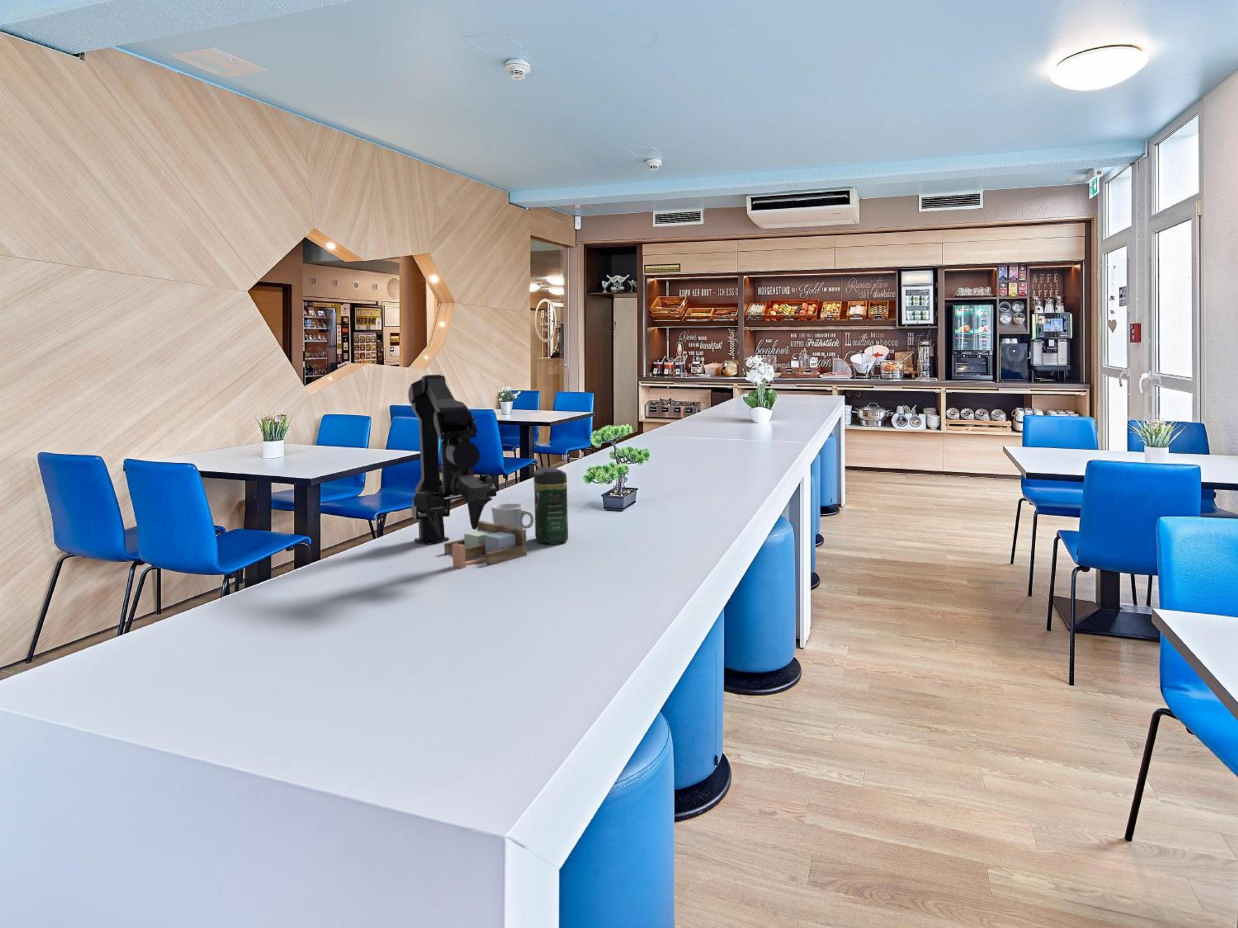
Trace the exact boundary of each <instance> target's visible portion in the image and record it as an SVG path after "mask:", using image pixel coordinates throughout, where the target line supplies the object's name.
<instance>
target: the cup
mask: <svg viewBox="0 0 1238 928" xmlns="http://www.w3.org/2000/svg"><path fill="white" fill-rule="evenodd" d="M491 512H492V513H491V514H492V521H493V522H492V523H494V524H499V525H504V526H509V527H514V528H519V529H524V530H527V529H530V528H532V526H533V525H534V523H535V515H534V513H533V512H532V511H530V510H527V509H524V506H523V504H520V503H511V502H509V503H499V504H495V505H492V507H491ZM526 515H528V516H529V518H530V522H529V524H525V522H524V517H525V516H526Z"/></svg>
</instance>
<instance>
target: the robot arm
mask: <svg viewBox="0 0 1238 928" xmlns="http://www.w3.org/2000/svg"><path fill="white" fill-rule="evenodd" d="M407 396H408V402H409V404H411V405H410V406H411V410H412V412H413V413H414V415H415V416H416V418H417V419H418V431H419V454H420V476H421V477H420V480H419V481H418V483H417V485H416V486H415V489H414V490H415V493H414V496H413V498H412V503H411V515H412V516H411V517H412V518H413V519H414V520H415V521H418V537H417V538H414V540H413V541H414V542H418V543H422V544H425V545H433V544H437V543H441V542H445V541H449V540H450V537H447V536H445V523H444V518H449V517H450V516H451V503H452V501H453V500H458V499H462V498H465V500H466V503H467V509H468V515H469V521H470V526H471V529H472V530H473V531H476V530H477V525H478V522H479V521H480V518H481V515H482V514H483V513H482V512H483V510H484V507H485V506H486V504H487V503H489V502H491V501H492V500H493V497H497V495H498V494H497V487H496V486H495V484H494V483H493V478H492V476H491V475H489V474H483V475H481V476H474V470H473V468H474V467H475V466H476V465H478V463H479V460H480V458H481V456H480V455H481V454H480V450H479V448H478V447H477V445H476V444H475V443H473V442H471V439H473V438H475V439H476V438H477V432H478V427H477V425H476V424H477V423H476V420H475V418H474V415H473V414H472V411H471V410H469V408H468V406H467V405H466V404H465V403H464V402H463V401H460V400H457V399H455V397H454V395H453V394H452V392H451V391H450V388H449V386H448V385H447V383H446V377H445V375H442V374H426V375H422V376H421V379H420V378H419V379H418V380H417V381H414V382H413V383H411V384H410V386H409V388H408V395H407ZM439 440H440V446H439ZM439 447H440V451H439ZM439 452H440V454H439ZM440 457H441V458H440ZM440 461H441V462H440ZM440 464H441V467H440ZM440 474H441V475H440Z"/></svg>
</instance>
